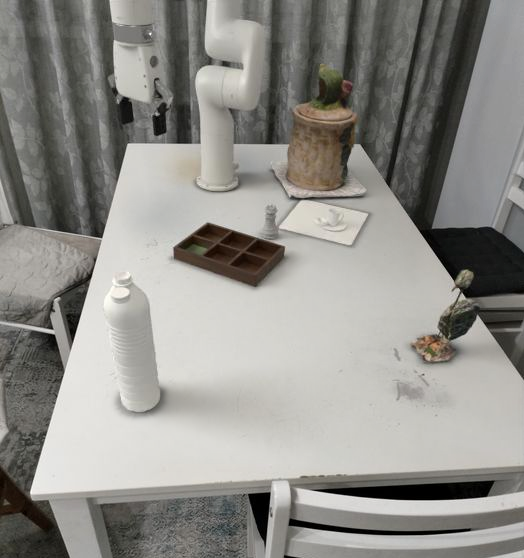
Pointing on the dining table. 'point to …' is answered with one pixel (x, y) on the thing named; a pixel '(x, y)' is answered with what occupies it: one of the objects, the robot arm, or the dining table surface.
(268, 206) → the rook chess piece
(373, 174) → the dining table surface
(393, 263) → the dining table surface
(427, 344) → the plant with pod
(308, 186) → the cookie jar
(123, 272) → the water bottle
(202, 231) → the tray
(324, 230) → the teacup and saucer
